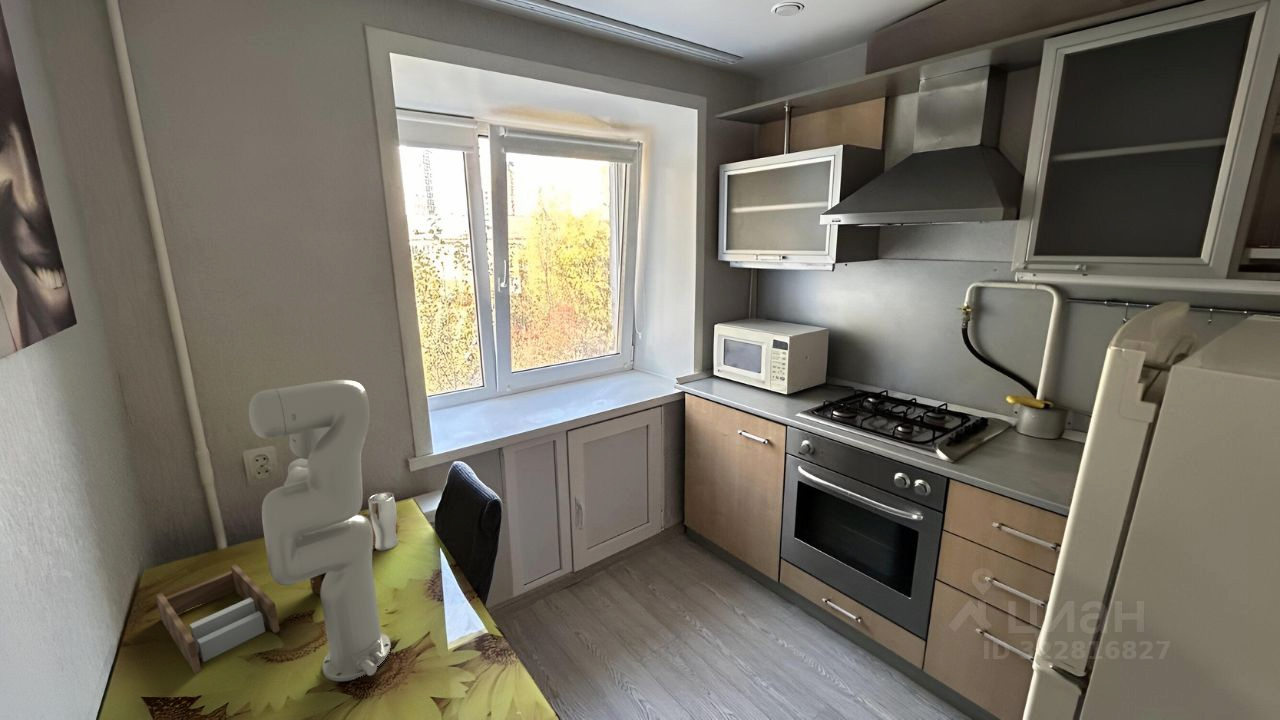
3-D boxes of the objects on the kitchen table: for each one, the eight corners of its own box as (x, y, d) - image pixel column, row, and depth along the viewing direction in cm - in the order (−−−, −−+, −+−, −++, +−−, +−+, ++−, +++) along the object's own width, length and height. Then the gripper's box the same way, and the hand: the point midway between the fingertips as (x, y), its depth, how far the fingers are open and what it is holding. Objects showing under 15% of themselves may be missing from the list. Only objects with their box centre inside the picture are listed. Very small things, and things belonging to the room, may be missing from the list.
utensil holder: (341, 578, 134) (335, 536, 131) (335, 593, 128) (329, 549, 125) (315, 583, 132) (308, 540, 130) (308, 598, 126) (301, 553, 124)
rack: (279, 630, 116) (274, 603, 115) (195, 673, 104) (188, 643, 103) (238, 586, 132) (233, 562, 131) (160, 619, 120) (154, 592, 119)
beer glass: (405, 542, 152) (399, 495, 149) (382, 554, 146) (376, 505, 143) (391, 536, 155) (385, 489, 152) (368, 547, 149) (362, 499, 147)
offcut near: (258, 623, 119) (253, 600, 118) (197, 652, 110) (192, 628, 109) (254, 620, 120) (250, 597, 119) (194, 648, 111) (189, 624, 110)
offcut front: (265, 632, 116) (262, 614, 115) (203, 662, 108) (199, 643, 107) (262, 628, 117) (258, 611, 116) (201, 658, 109) (197, 639, 108)
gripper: (345, 511, 123) (354, 578, 127) (314, 492, 134) (324, 556, 137) (310, 524, 118) (321, 594, 121) (281, 504, 128) (292, 569, 131)
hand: (323, 573), depth 129 cm, fingers closed on utensil holder, 5 cm apart
